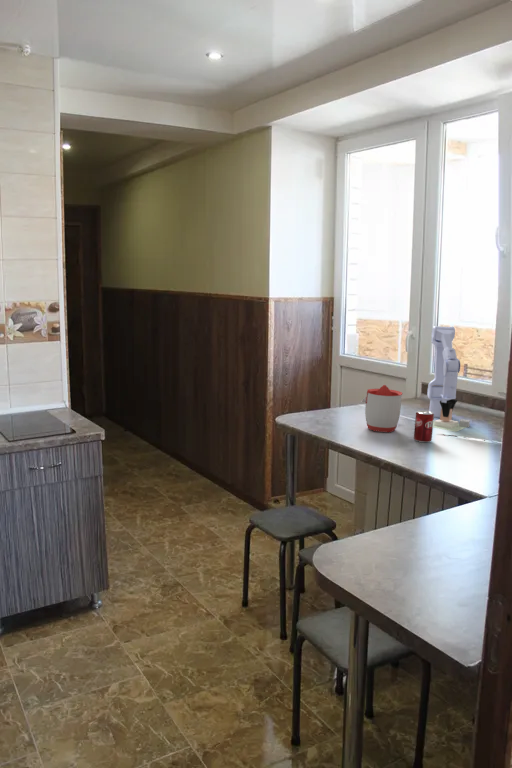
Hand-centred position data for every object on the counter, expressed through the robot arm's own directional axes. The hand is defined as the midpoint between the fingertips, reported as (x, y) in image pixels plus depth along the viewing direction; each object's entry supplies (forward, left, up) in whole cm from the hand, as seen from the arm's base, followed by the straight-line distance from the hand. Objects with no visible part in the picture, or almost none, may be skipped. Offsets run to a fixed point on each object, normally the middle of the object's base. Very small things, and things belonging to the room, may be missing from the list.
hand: (447, 416), depth 292 cm
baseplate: (0, 0, -5) cm, 5 cm away
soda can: (+30, +3, -6) cm, 31 cm away
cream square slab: (0, 0, -4) cm, 4 cm away
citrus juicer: (+27, -19, -6) cm, 33 cm away
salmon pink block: (0, 0, -2) cm, 2 cm away
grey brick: (-6, +6, -4) cm, 10 cm away
